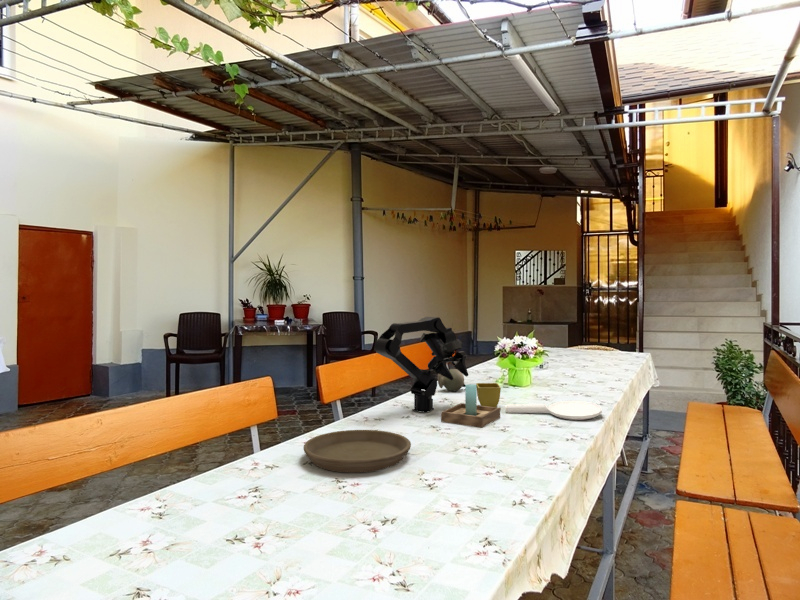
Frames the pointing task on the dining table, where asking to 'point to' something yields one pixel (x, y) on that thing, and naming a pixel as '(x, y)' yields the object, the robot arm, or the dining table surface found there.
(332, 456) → the plant saucer
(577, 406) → the white piece
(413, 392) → the robot arm
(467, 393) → the peg
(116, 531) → the dining table surface
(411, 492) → the dining table surface
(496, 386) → the flower pot
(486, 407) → the bore box
